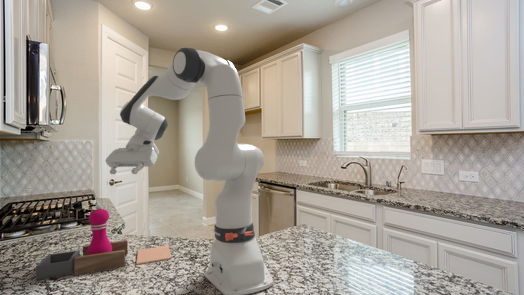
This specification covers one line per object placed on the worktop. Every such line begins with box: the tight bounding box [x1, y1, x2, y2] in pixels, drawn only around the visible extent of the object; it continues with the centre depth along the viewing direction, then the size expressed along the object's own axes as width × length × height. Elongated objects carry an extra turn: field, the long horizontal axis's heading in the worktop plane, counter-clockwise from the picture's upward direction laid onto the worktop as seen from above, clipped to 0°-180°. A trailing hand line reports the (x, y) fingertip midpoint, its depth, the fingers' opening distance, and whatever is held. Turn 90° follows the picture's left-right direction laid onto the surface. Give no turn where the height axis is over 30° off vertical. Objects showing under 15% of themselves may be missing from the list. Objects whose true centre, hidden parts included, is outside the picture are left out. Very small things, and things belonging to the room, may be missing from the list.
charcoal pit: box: [35, 249, 81, 281], centre depth 90 cm, size 11×9×4 cm
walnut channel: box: [74, 239, 129, 275], centre depth 95 cm, size 13×14×5 cm
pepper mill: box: [87, 204, 112, 255], centre depth 94 cm, size 7×7×20 cm
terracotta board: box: [135, 245, 172, 266], centre depth 101 cm, size 14×11×1 cm
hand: (122, 173), depth 107 cm, fingers open, 8 cm apart
